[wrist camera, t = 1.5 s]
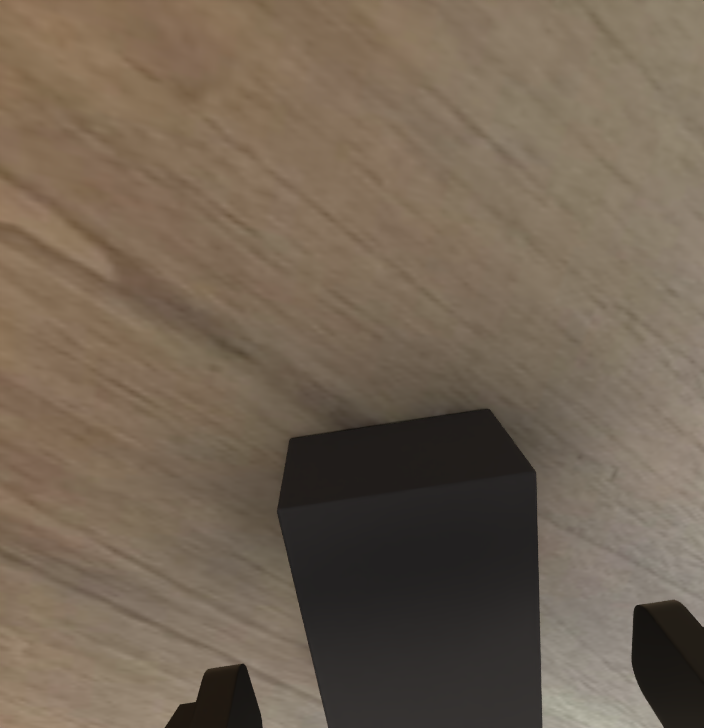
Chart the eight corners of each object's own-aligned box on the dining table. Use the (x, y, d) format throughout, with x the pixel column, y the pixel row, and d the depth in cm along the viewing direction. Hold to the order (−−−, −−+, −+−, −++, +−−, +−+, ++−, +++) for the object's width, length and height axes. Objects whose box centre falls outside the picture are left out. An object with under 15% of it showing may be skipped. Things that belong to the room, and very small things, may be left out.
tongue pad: (288, 437, 14) (275, 510, 11) (490, 407, 14) (537, 471, 11) (340, 680, 18) (342, 792, 14) (504, 656, 18) (544, 763, 14)
